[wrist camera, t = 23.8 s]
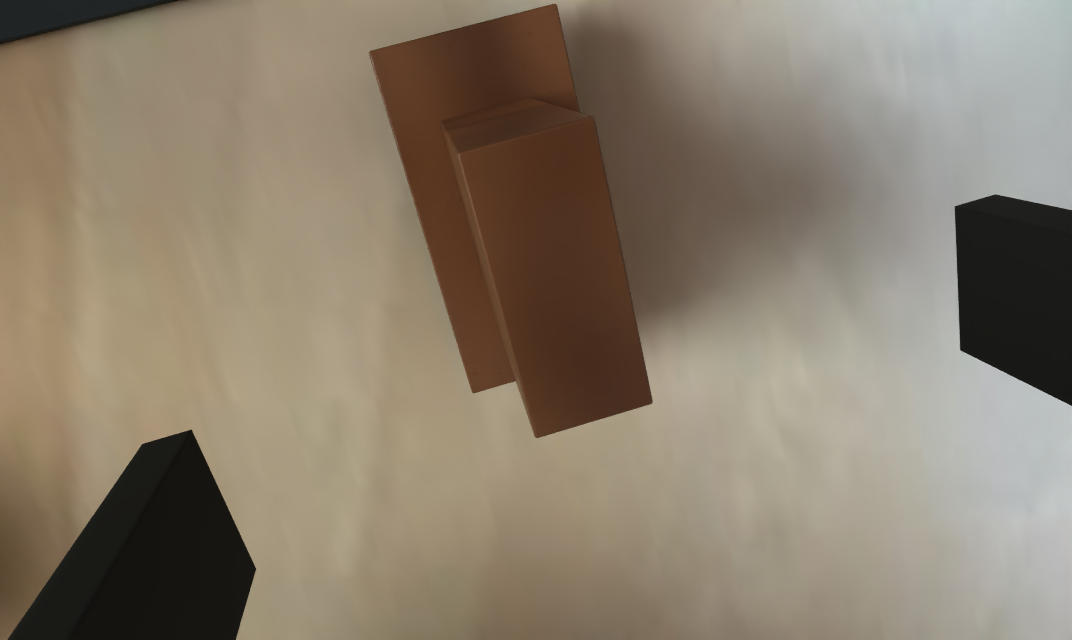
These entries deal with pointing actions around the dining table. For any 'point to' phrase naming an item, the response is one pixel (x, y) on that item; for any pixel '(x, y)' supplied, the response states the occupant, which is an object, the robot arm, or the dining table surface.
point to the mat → (59, 14)
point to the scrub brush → (517, 215)
